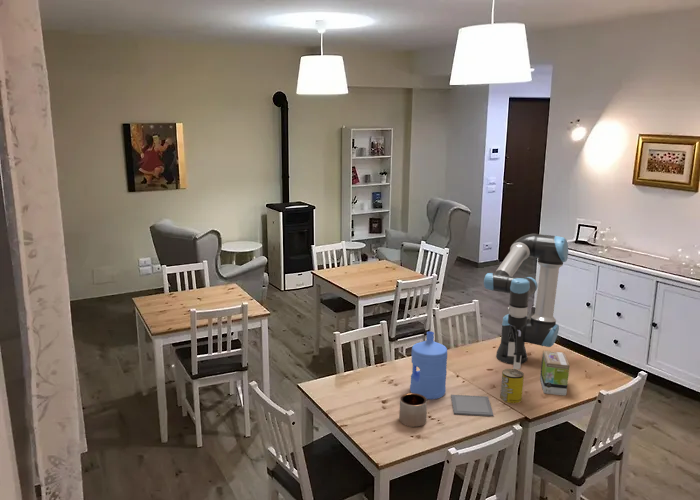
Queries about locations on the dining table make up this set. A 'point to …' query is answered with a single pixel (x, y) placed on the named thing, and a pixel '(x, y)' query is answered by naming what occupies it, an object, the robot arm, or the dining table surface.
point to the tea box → (554, 373)
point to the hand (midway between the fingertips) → (513, 362)
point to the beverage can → (512, 385)
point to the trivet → (471, 405)
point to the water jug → (429, 368)
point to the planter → (413, 410)
